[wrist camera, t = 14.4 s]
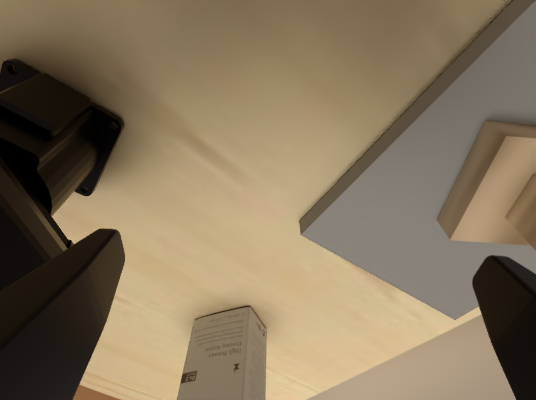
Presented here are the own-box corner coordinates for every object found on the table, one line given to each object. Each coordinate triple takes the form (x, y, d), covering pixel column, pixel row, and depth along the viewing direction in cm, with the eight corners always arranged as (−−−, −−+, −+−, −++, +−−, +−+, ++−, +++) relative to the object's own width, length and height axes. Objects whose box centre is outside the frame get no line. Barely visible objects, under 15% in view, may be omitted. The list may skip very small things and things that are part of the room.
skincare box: (249, 303, 30) (239, 471, 20) (268, 330, 32) (268, 491, 22) (190, 319, 31) (153, 482, 21) (213, 343, 34) (189, 501, 24)
